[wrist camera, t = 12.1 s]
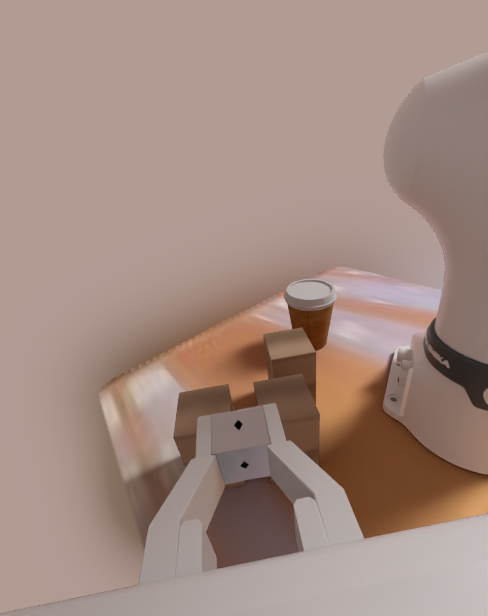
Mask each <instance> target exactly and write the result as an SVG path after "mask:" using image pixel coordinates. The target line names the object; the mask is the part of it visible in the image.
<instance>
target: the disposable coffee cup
mask: <svg viewBox="0 0 488 616" xmlns="http://www.w3.org/2000/svg"><path fill="white" fill-rule="evenodd" d="M284 298H285V300H286V302H287V304H288V309H289V314H290V319H291V324H292V329H297V328H303V330H304V331H305V333H306V335H307V337H308V339H309V340H310V342H311V344H312V346H313V348H314V349H315V350H318V349H321V348H323V347H324V346H325V345H326V341H327V336H328V330H329V325H330V320H331V315H332V309H333V304H334V302H335V300H336V298H337V293H336V291H335V288H334V286H333V285H332V284H331V283H329V282H327V281H324V280H319V279H304V280H299V281H296V282H293V283H292V284H290V285H289V286H288V287H287V289H286V292H285V294H284Z"/></svg>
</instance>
